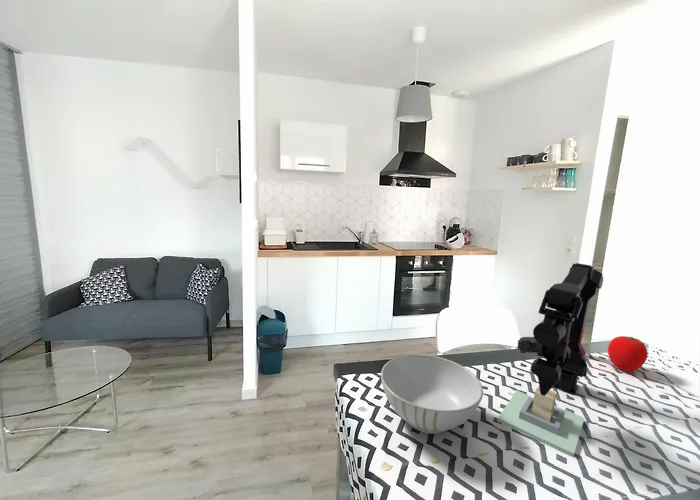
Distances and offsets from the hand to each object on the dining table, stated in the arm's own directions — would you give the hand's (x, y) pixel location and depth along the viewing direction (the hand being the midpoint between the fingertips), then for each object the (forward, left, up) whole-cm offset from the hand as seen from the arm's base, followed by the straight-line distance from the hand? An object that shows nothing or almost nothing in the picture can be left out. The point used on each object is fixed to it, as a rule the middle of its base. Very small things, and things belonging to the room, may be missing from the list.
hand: (546, 387), depth 92 cm
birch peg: (0, 0, -9) cm, 9 cm away
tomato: (-55, +16, -11) cm, 58 cm away
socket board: (0, 0, -11) cm, 11 cm away
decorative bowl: (+22, -24, -11) cm, 34 cm away
